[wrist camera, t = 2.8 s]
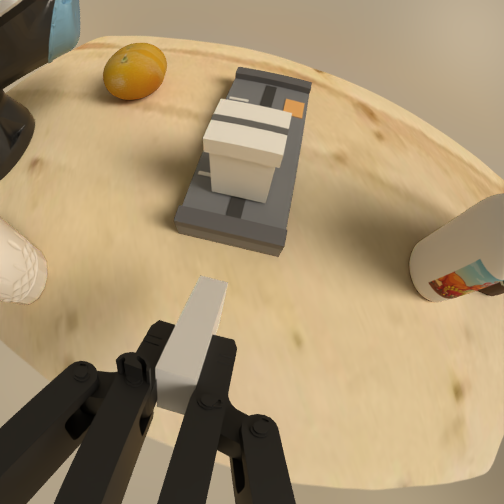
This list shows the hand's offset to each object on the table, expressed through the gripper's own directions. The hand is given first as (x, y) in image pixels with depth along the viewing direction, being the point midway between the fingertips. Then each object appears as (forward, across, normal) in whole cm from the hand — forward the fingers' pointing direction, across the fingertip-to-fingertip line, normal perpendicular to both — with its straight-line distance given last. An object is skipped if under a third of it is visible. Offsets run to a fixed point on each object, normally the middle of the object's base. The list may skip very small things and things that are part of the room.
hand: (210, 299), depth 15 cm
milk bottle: (+15, +23, -1) cm, 27 cm away
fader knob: (+15, -1, +3) cm, 15 cm away
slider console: (+21, -1, +6) cm, 22 cm away
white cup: (+6, -22, -9) cm, 25 cm away
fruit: (+26, -19, +11) cm, 35 cm away
